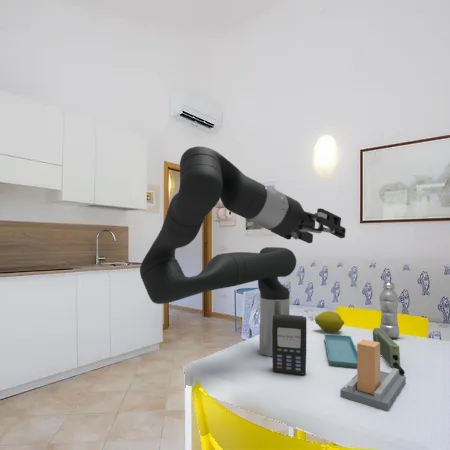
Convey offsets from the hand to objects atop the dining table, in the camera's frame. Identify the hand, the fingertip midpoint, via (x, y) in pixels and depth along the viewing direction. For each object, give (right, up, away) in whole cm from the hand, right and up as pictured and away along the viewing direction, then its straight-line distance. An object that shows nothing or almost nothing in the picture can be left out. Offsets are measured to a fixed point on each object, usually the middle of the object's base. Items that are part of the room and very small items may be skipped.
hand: (327, 236), depth 72 cm
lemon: (+19, -40, +57) cm, 72 cm away
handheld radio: (+27, -39, +28) cm, 55 cm away
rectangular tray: (+15, -39, +34) cm, 54 cm away
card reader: (-5, -37, +18) cm, 42 cm away
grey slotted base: (+14, -37, +8) cm, 40 cm away
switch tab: (+11, -35, +4) cm, 37 cm away
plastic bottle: (+39, -39, +51) cm, 75 cm away
